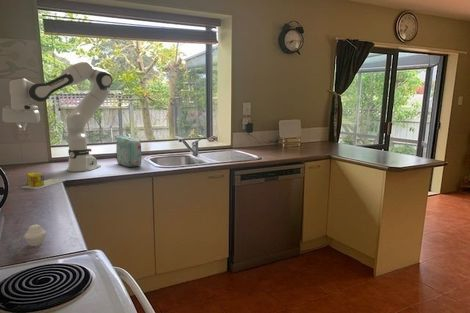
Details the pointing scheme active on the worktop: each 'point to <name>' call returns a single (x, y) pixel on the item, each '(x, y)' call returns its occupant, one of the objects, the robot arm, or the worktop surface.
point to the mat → (46, 183)
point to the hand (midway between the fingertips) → (22, 130)
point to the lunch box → (128, 151)
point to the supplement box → (35, 179)
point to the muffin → (35, 235)
